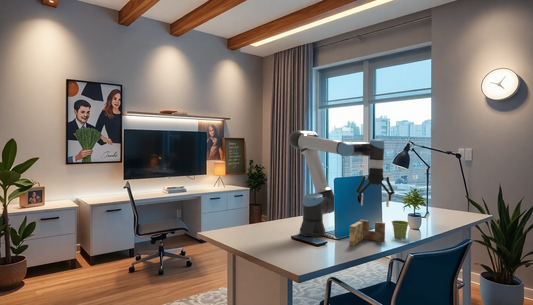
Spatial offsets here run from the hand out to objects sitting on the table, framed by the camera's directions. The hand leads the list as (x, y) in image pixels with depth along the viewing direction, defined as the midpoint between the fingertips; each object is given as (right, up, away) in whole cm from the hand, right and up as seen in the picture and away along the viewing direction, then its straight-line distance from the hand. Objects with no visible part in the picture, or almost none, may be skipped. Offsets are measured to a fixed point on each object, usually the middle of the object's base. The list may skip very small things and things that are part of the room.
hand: (374, 205), depth 196 cm
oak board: (-11, -20, -2) cm, 22 cm away
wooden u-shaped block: (0, -19, +4) cm, 20 cm away
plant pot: (+17, -20, +9) cm, 28 cm away
